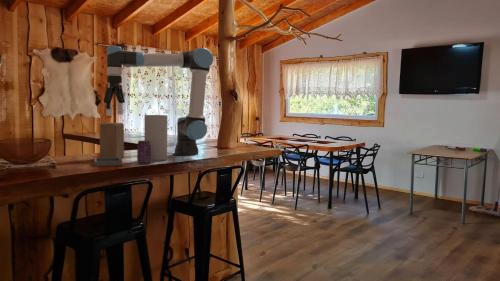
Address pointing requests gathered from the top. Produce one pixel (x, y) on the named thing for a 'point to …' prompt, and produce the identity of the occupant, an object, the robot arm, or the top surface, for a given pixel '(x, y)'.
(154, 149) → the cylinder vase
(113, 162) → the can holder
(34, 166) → the top surface
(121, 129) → the wooden block
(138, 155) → the beverage can
